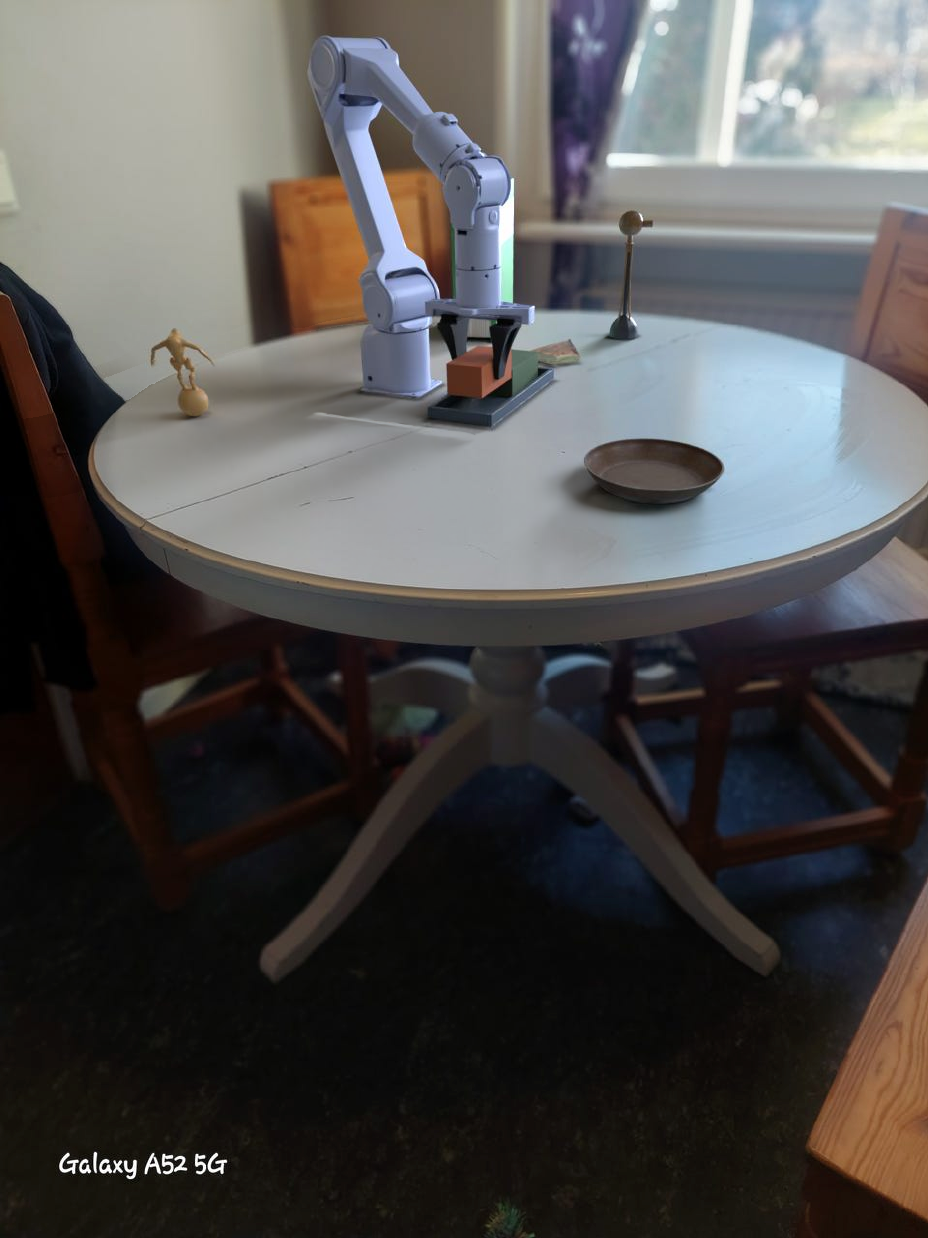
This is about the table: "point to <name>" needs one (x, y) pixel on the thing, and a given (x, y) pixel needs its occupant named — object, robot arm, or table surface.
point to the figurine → (192, 396)
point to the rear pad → (519, 373)
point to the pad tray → (485, 404)
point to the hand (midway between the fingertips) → (479, 375)
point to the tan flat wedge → (558, 353)
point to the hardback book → (507, 211)
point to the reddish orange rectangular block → (474, 373)
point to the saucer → (653, 469)
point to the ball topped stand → (628, 276)
